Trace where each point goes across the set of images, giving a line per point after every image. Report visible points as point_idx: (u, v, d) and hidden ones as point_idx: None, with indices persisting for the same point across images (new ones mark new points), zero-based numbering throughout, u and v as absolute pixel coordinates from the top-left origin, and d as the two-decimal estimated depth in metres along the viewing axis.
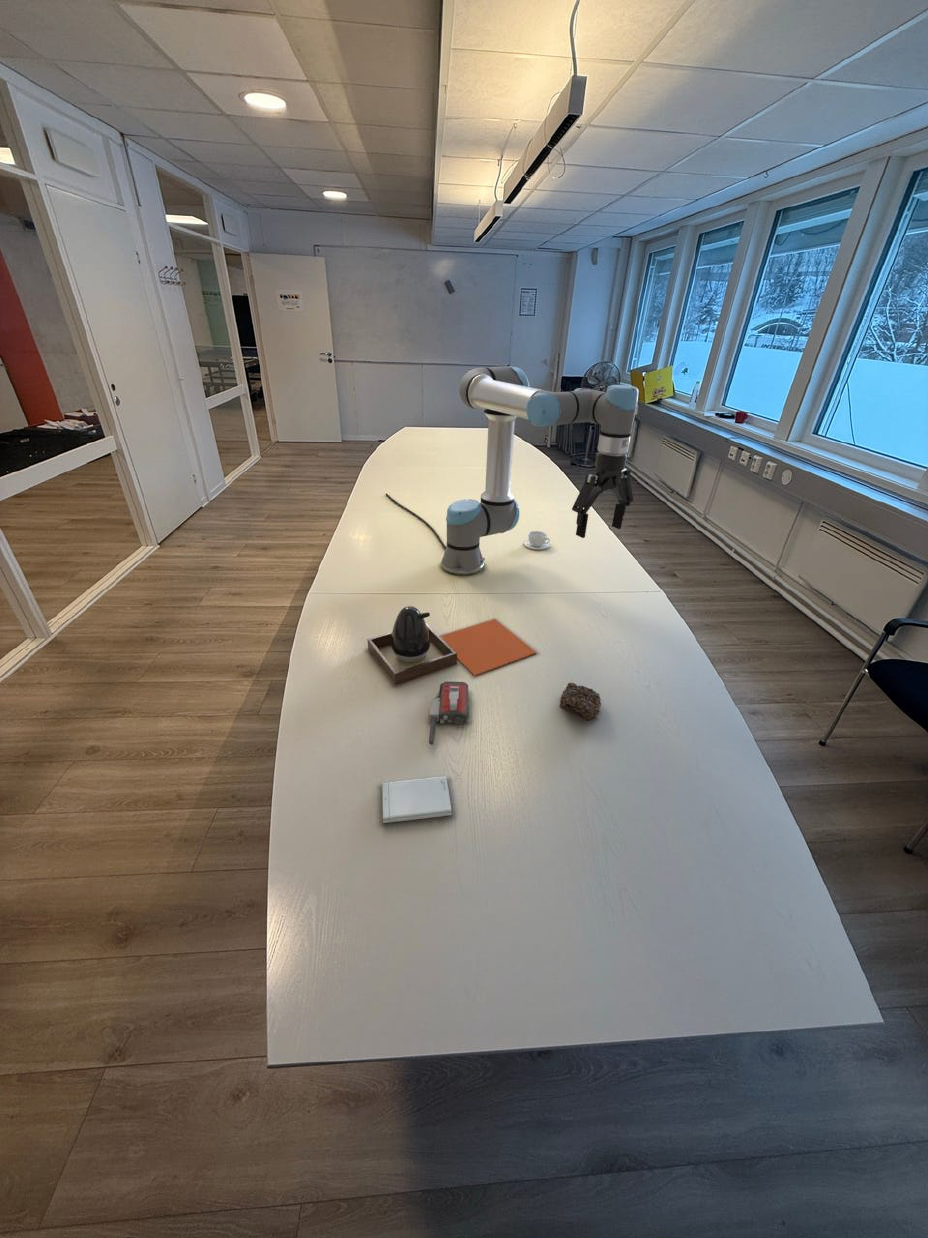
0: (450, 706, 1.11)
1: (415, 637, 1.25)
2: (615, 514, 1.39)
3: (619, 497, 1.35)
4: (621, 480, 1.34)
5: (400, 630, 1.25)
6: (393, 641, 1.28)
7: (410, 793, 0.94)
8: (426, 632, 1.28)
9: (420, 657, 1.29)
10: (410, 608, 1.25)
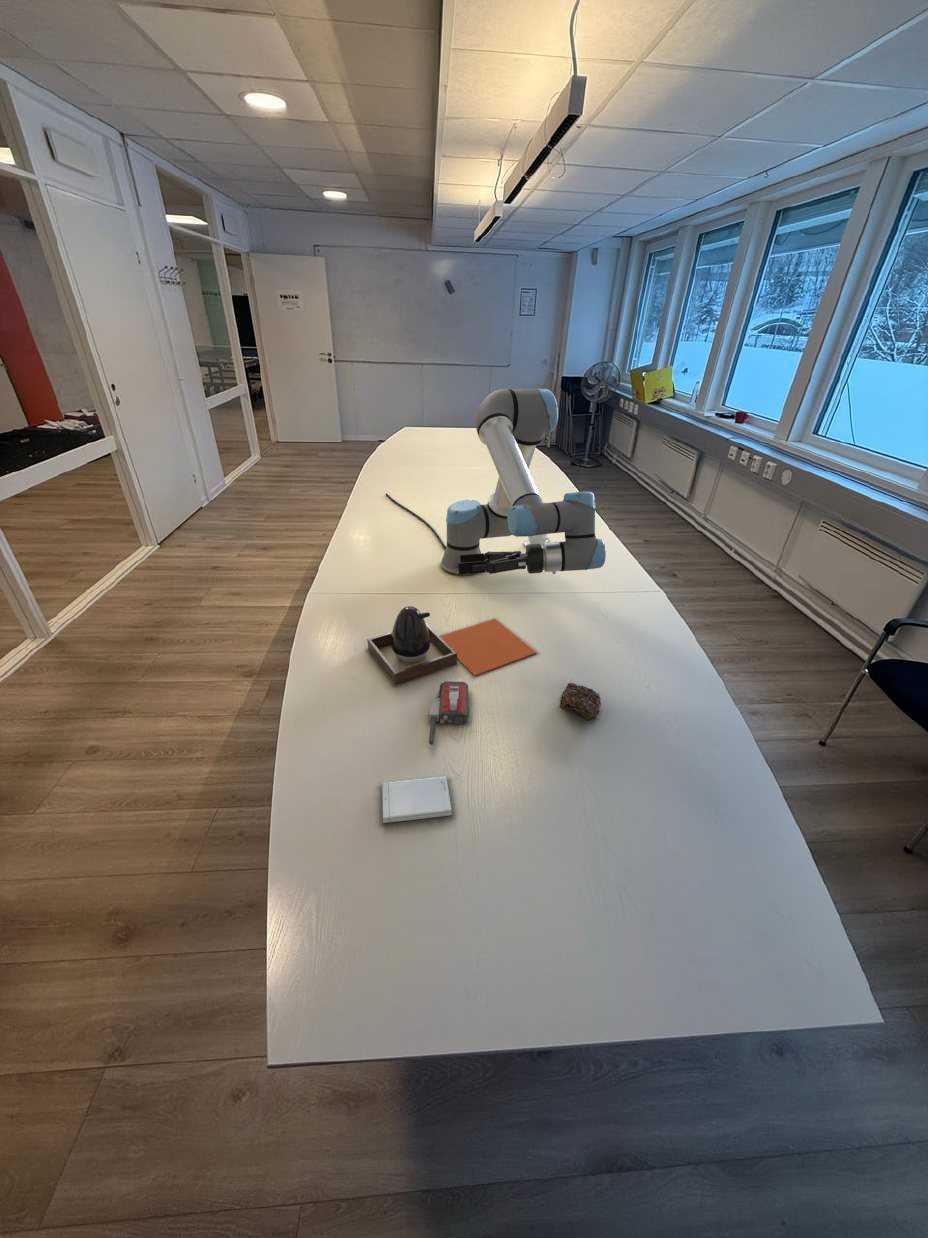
0: (450, 706, 1.11)
1: (415, 637, 1.25)
2: (473, 556, 1.34)
3: (493, 559, 1.33)
4: None
5: (400, 630, 1.25)
6: (393, 641, 1.28)
7: (410, 793, 0.94)
8: (426, 632, 1.28)
9: (420, 657, 1.29)
10: (410, 608, 1.25)
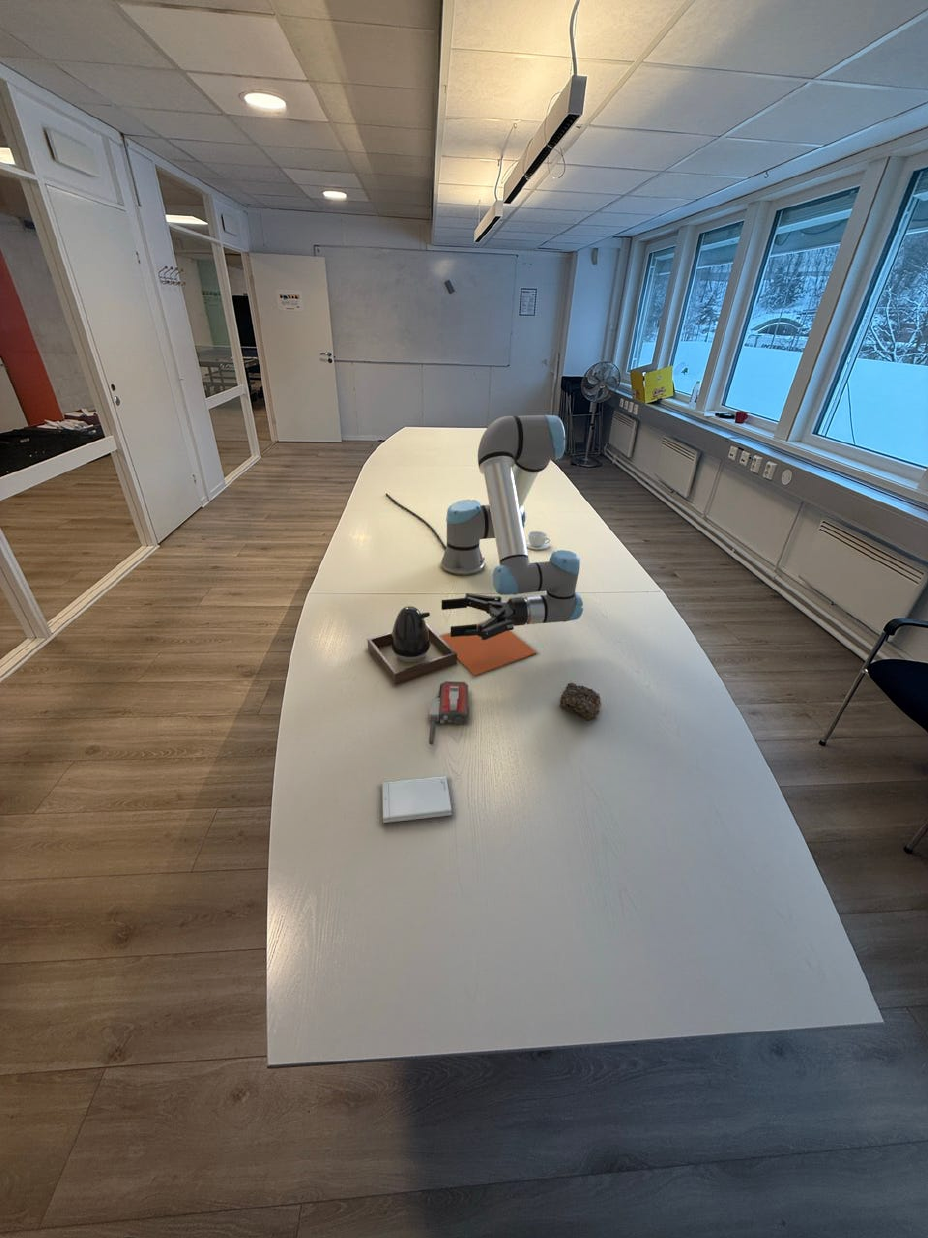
0: (450, 706, 1.11)
1: (415, 637, 1.25)
2: (455, 602, 1.35)
3: (474, 605, 1.35)
4: (489, 600, 1.36)
5: (400, 630, 1.25)
6: (393, 641, 1.28)
7: (410, 793, 0.94)
8: (426, 632, 1.28)
9: (420, 657, 1.29)
10: (410, 608, 1.25)
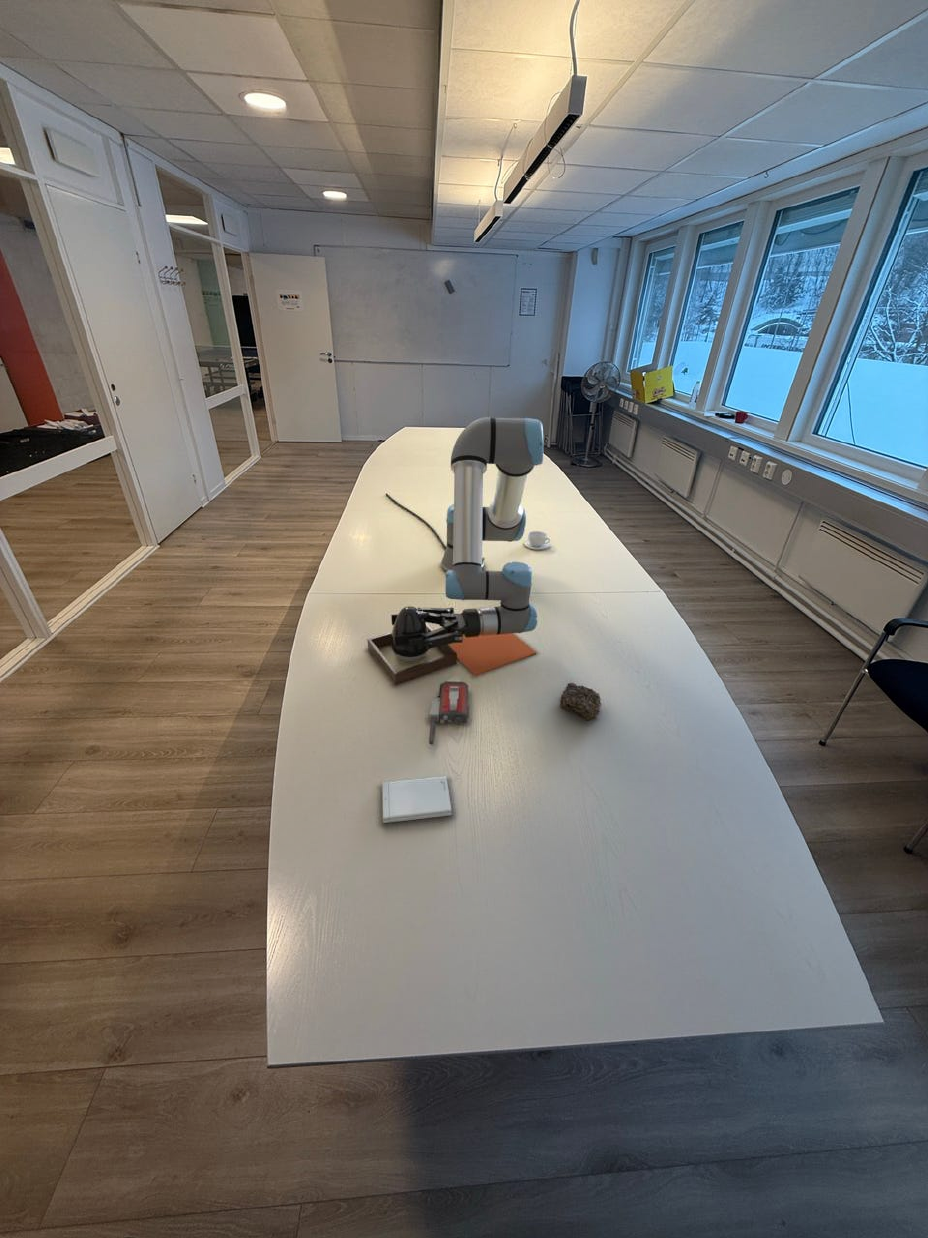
0: (450, 706, 1.11)
1: None
2: None
3: (427, 619, 1.33)
4: (442, 612, 1.35)
5: (400, 630, 1.25)
6: (393, 641, 1.28)
7: (410, 793, 0.94)
8: (426, 632, 1.28)
9: (420, 657, 1.29)
10: (410, 608, 1.25)
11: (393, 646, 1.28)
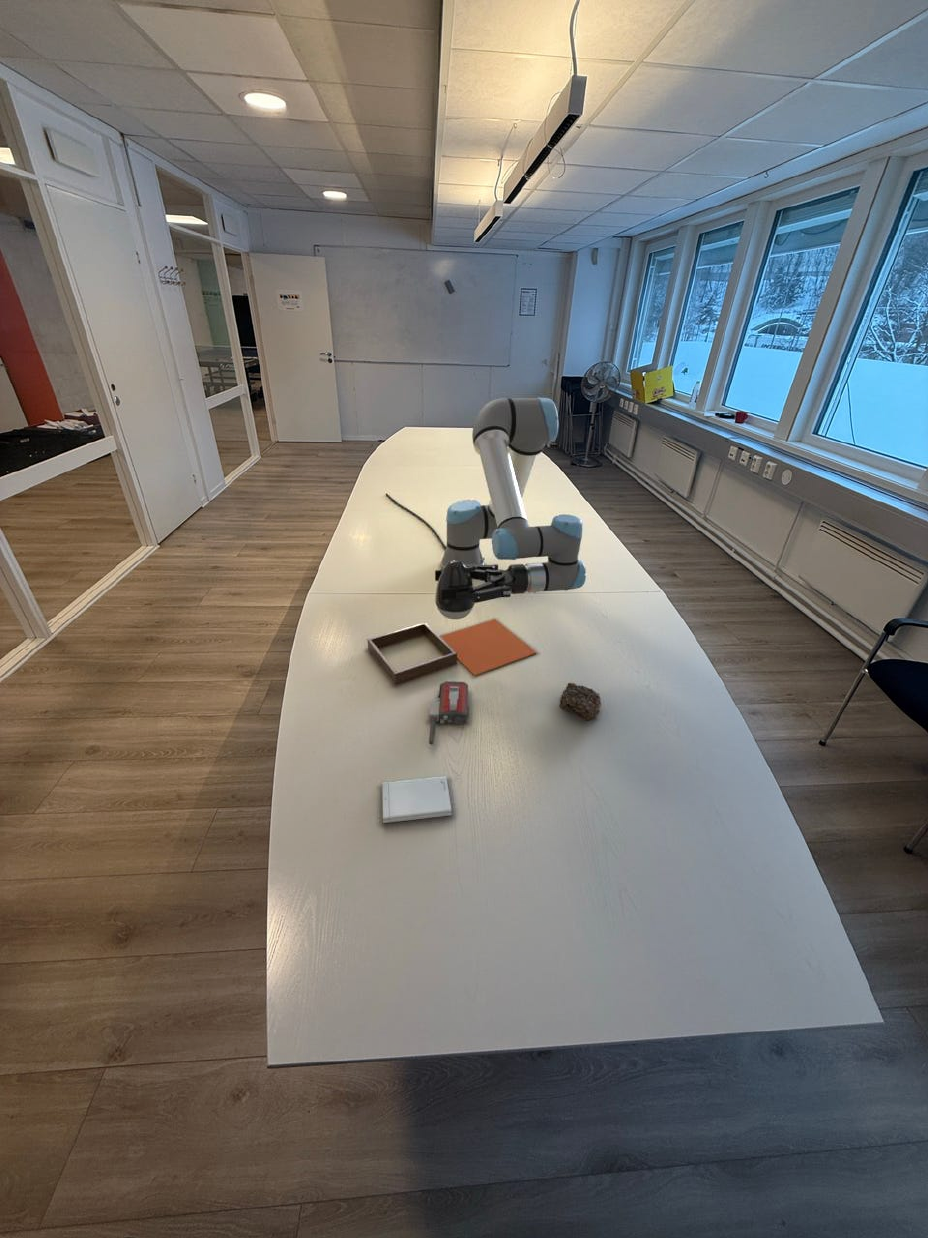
0: (450, 706, 1.11)
1: None
2: None
3: (471, 575, 1.29)
4: (487, 569, 1.31)
5: (446, 583, 1.21)
6: (438, 596, 1.24)
7: (410, 793, 0.94)
8: (472, 587, 1.24)
9: (465, 613, 1.25)
10: (456, 561, 1.21)
11: (438, 601, 1.24)
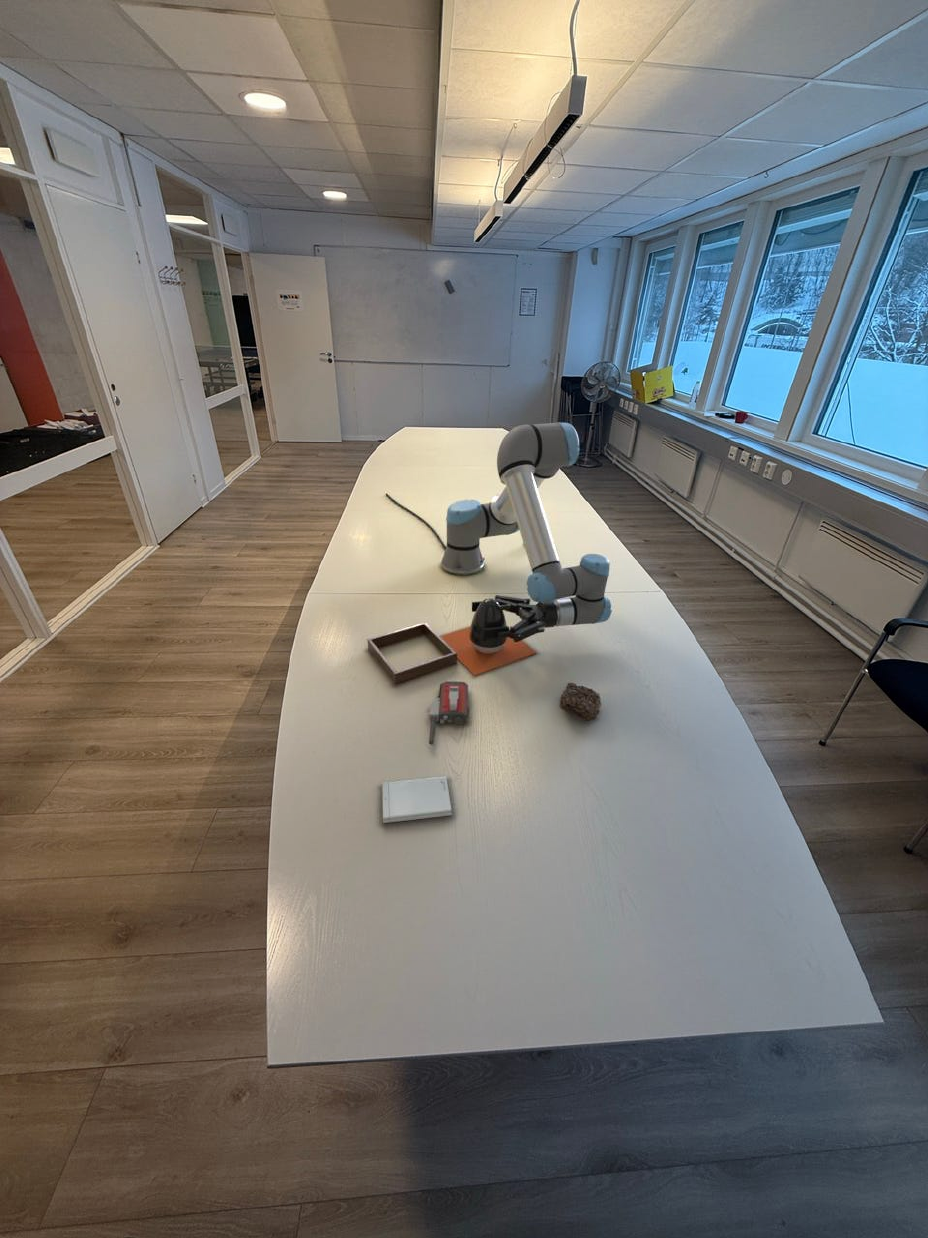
0: (450, 706, 1.11)
1: None
2: None
3: None
4: (519, 602, 1.39)
5: (481, 621, 1.29)
6: (473, 632, 1.31)
7: (410, 793, 0.94)
8: (505, 624, 1.31)
9: (498, 648, 1.33)
10: (491, 600, 1.29)
11: (473, 637, 1.32)
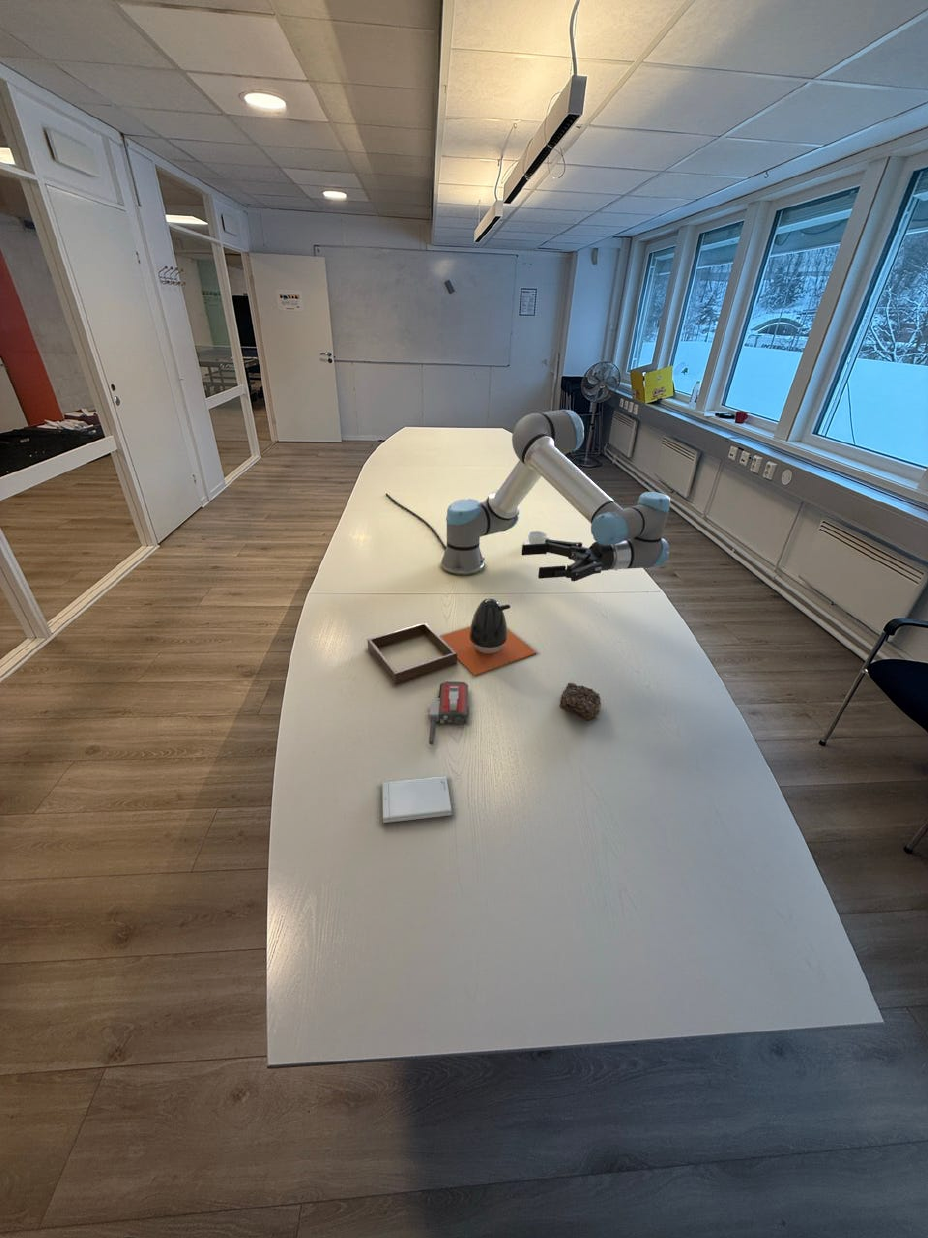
0: (450, 706, 1.11)
1: (496, 628, 1.29)
2: (536, 547, 1.31)
3: (555, 551, 1.32)
4: (570, 546, 1.33)
5: (481, 621, 1.29)
6: (473, 632, 1.31)
7: (410, 793, 0.94)
8: (505, 624, 1.31)
9: (498, 648, 1.33)
10: (491, 600, 1.29)
11: (473, 637, 1.32)
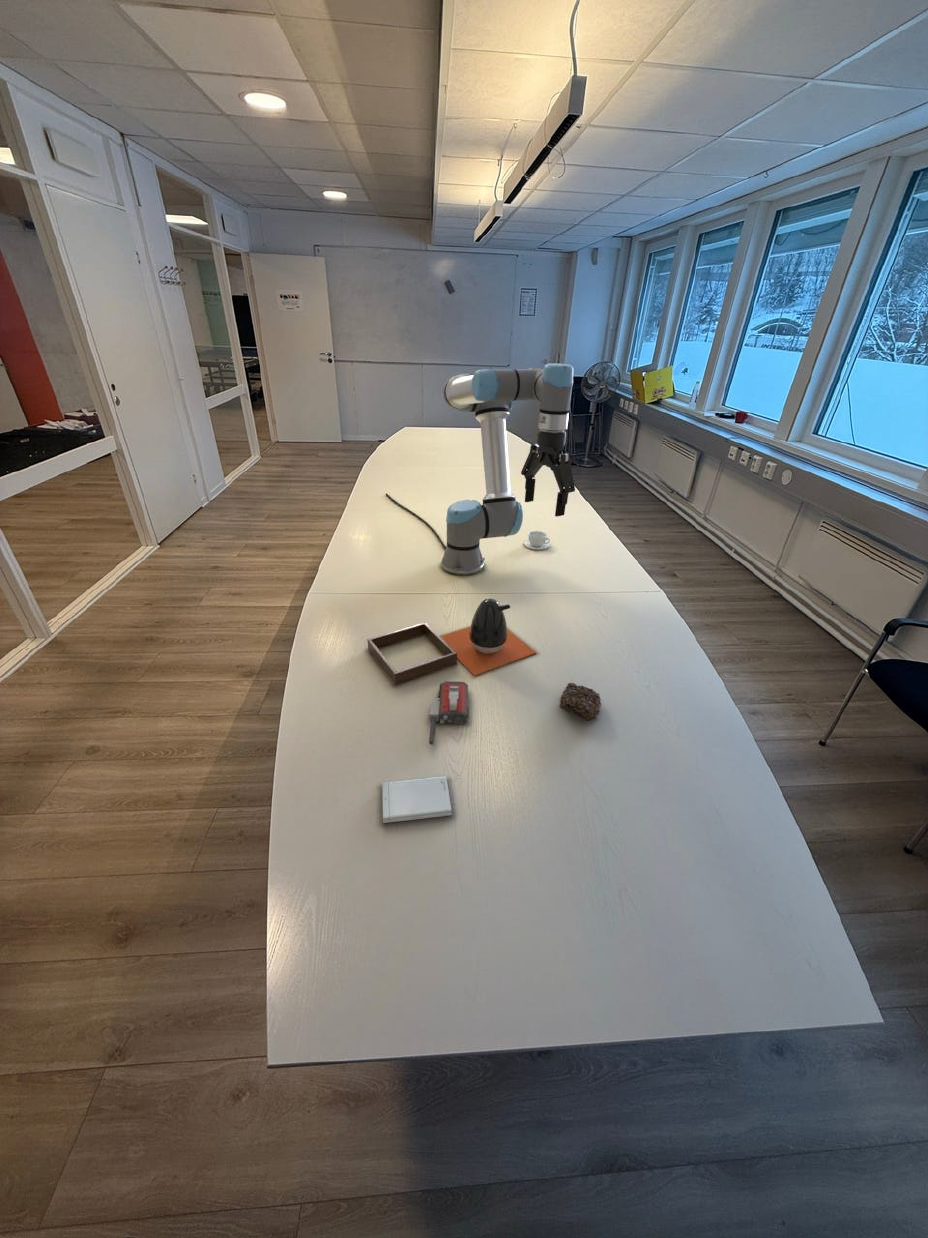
0: (450, 706, 1.11)
1: (496, 628, 1.29)
2: None
3: None
4: None
5: (481, 621, 1.29)
6: (473, 632, 1.31)
7: (410, 793, 0.94)
8: (505, 624, 1.31)
9: (498, 648, 1.33)
10: (491, 600, 1.29)
11: (473, 637, 1.32)
